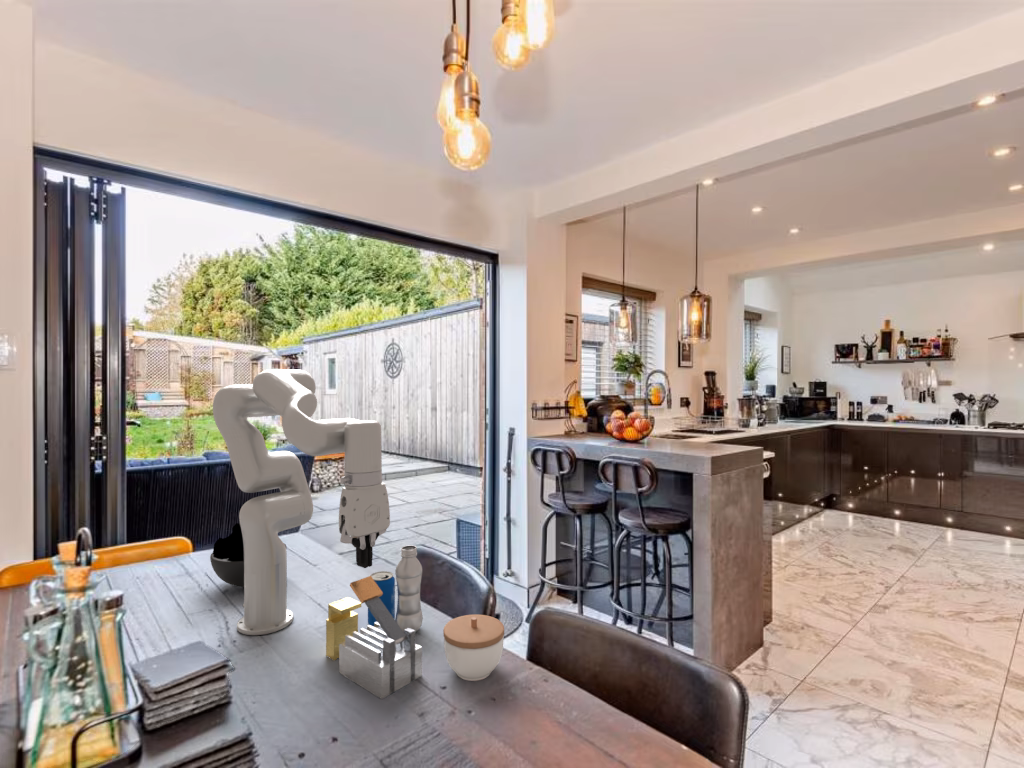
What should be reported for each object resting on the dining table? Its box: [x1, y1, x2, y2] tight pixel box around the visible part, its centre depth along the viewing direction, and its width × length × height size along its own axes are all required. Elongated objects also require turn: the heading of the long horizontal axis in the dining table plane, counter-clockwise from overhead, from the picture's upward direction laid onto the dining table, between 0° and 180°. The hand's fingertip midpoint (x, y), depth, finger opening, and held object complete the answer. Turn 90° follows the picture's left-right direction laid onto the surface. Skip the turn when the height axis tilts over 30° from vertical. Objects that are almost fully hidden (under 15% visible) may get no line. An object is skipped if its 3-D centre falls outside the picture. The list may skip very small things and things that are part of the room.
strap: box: [349, 575, 408, 645], centre depth 108 cm, size 16×5×1 cm
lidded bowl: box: [442, 613, 505, 682], centre depth 109 cm, size 13×13×11 cm
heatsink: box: [338, 622, 423, 700], centre depth 108 cm, size 14×10×10 cm
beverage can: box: [367, 570, 396, 627], centre depth 130 cm, size 6×6×12 cm
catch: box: [325, 596, 362, 661], centre depth 115 cm, size 5×6×11 cm
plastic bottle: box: [394, 544, 424, 633], centre depth 126 cm, size 6×7×20 cm
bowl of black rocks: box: [209, 522, 287, 588], centre depth 154 cm, size 20×20×19 cm
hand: (364, 565), depth 111 cm, fingers closed
